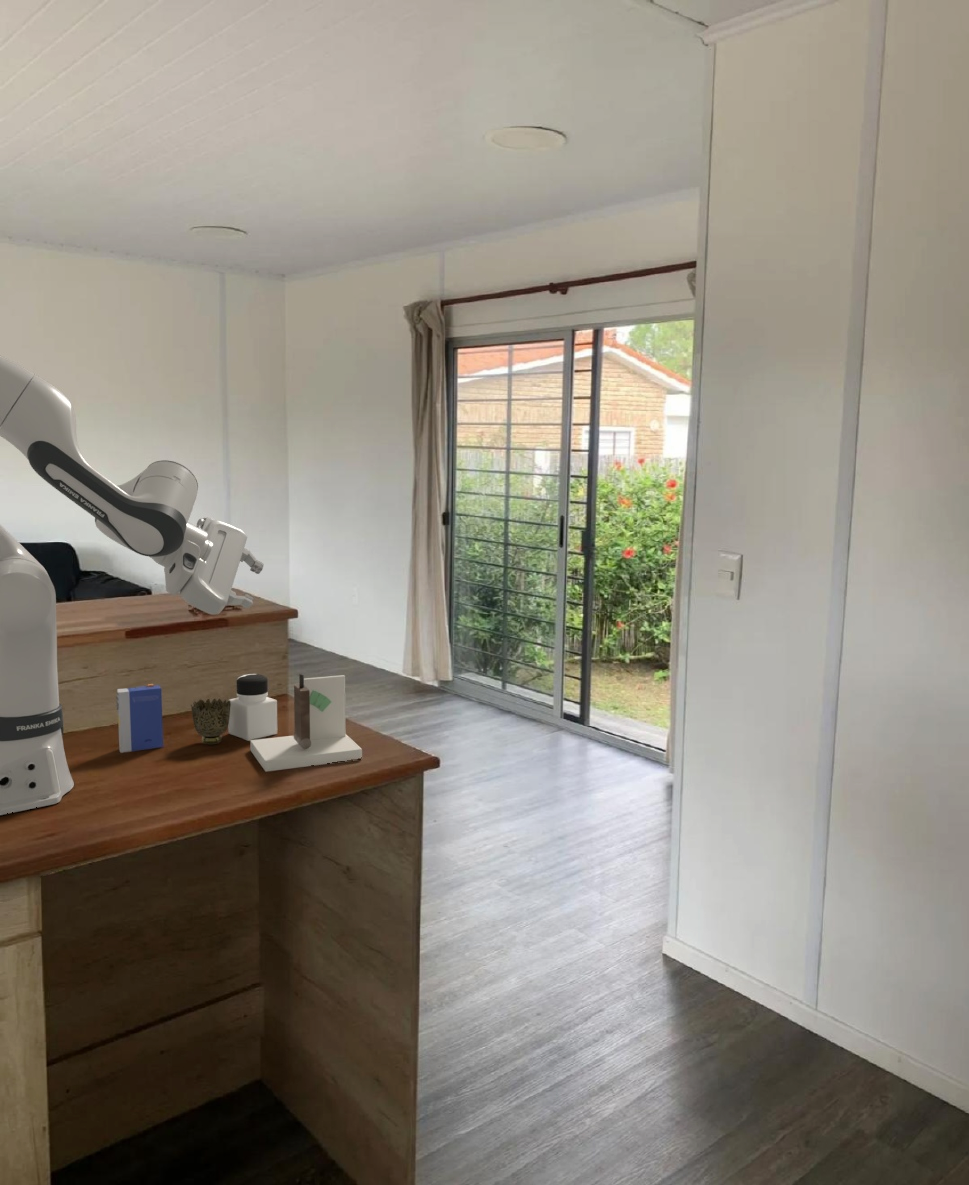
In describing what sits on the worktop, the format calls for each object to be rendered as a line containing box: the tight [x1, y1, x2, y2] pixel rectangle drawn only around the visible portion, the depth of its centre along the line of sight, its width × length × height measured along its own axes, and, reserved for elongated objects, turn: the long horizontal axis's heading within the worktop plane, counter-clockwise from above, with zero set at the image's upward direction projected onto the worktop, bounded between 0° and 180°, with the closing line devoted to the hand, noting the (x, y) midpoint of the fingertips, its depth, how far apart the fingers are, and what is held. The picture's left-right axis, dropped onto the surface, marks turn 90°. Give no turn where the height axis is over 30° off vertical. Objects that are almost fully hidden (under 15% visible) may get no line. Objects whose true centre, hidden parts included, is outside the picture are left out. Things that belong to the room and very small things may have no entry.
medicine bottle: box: [227, 673, 278, 742], centre depth 194 cm, size 7×7×12 cm
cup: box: [190, 698, 231, 745], centre depth 188 cm, size 8×7×8 cm
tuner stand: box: [249, 674, 363, 772], centre depth 181 cm, size 18×13×14 cm
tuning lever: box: [293, 673, 311, 749], centre depth 179 cm, size 2×5×14 cm, turn 25°
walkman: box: [115, 683, 164, 754], centre depth 184 cm, size 8×3×12 cm, turn 119°
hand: (256, 586), depth 175 cm, fingers open, 8 cm apart
